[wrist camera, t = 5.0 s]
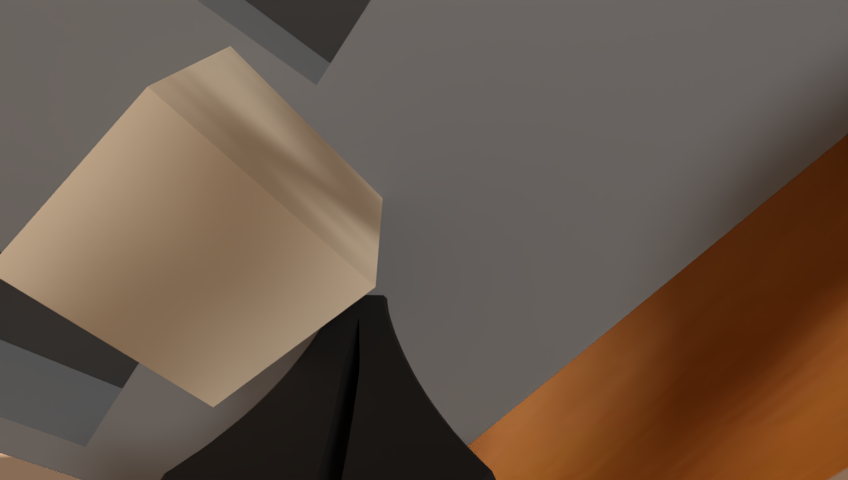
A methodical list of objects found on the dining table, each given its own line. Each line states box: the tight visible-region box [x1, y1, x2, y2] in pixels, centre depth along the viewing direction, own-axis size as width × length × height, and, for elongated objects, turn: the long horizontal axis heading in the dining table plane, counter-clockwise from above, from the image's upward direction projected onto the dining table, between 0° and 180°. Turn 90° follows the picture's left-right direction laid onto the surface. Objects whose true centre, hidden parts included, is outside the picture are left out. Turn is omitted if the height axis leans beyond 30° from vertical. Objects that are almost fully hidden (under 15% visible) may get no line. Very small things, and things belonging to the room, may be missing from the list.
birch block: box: [0, 46, 383, 407], centre depth 11 cm, size 5×5×4 cm
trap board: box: [0, 0, 848, 480], centre depth 13 cm, size 28×27×4 cm
